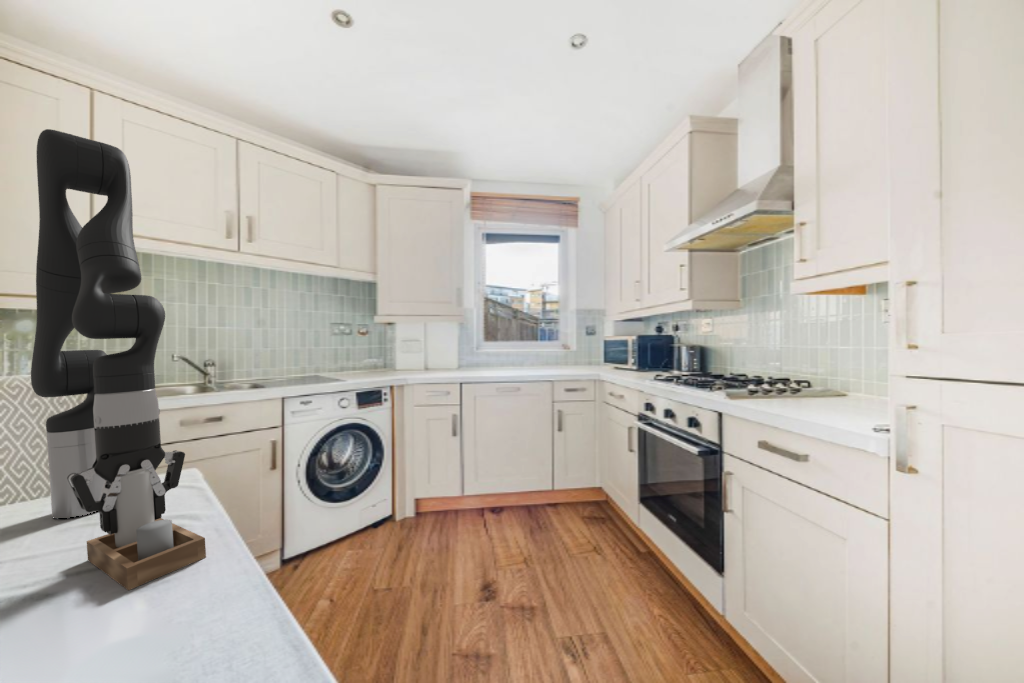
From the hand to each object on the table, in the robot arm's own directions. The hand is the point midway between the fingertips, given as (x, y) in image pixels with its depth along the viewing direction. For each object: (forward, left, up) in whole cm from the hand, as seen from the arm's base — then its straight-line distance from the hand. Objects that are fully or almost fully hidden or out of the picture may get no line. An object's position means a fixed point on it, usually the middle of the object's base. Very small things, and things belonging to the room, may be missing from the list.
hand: (134, 524), depth 64 cm
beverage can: (0, 0, -3) cm, 3 cm away
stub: (+8, 0, -5) cm, 9 cm away
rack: (+4, 0, -4) cm, 6 cm away
